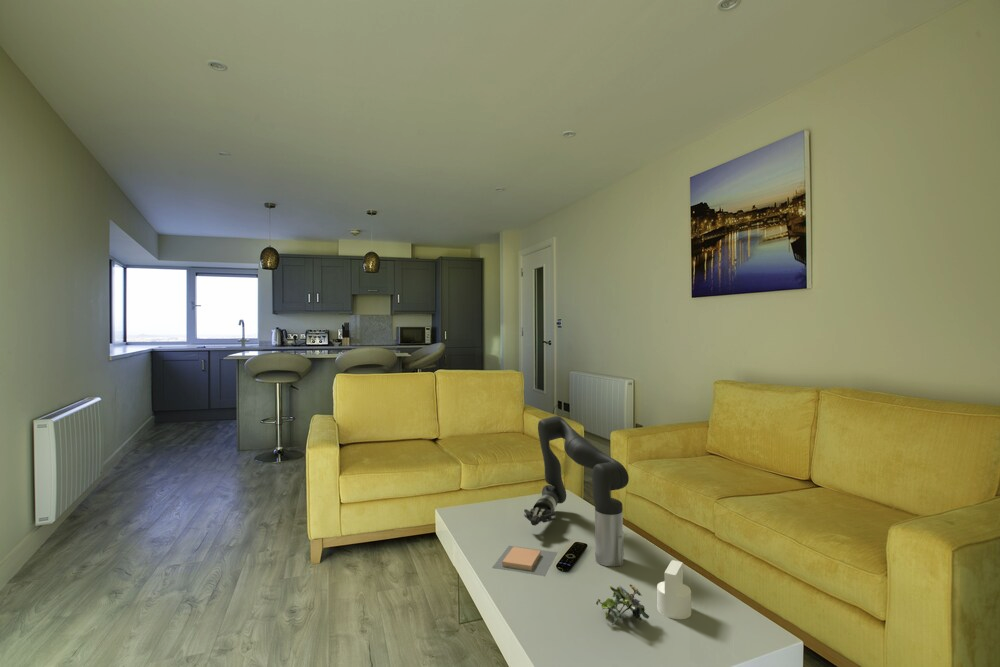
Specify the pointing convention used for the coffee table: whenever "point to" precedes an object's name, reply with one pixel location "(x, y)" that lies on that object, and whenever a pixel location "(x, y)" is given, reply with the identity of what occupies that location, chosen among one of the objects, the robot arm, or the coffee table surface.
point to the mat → (540, 566)
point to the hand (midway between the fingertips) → (533, 522)
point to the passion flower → (624, 603)
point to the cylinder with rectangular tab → (674, 593)
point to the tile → (521, 558)
